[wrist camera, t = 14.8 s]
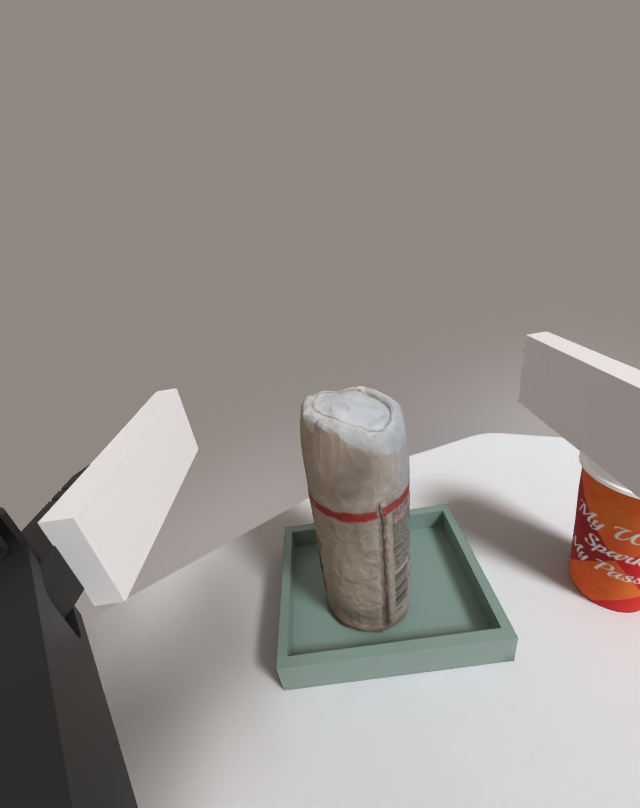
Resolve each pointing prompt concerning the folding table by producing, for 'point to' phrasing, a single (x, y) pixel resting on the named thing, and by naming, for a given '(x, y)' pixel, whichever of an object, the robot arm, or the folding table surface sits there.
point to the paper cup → (606, 540)
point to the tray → (409, 639)
